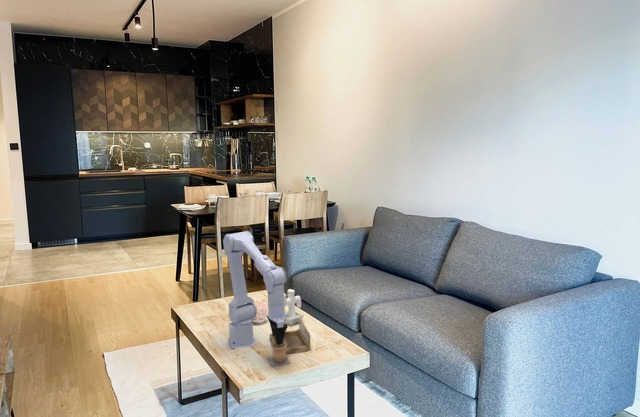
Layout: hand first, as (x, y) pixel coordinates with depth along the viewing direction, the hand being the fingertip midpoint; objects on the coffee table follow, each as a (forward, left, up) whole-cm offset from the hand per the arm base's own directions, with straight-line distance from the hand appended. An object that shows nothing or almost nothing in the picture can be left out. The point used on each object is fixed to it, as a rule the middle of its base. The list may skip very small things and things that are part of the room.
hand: (277, 339), depth 174 cm
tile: (0, 0, -9) cm, 9 cm away
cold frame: (+6, +12, -9) cm, 16 cm away
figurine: (+12, +34, -9) cm, 38 cm away
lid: (+12, +12, -9) cm, 20 cm away
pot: (+1, 0, -8) cm, 8 cm away
